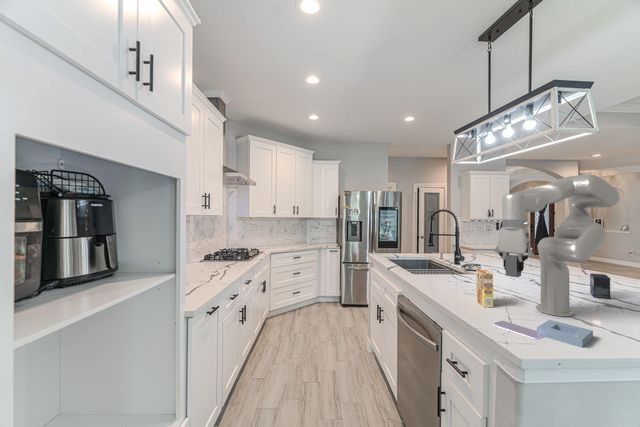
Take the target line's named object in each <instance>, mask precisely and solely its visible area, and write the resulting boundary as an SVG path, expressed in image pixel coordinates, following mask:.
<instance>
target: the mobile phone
mask: <svg viewBox="0 0 640 427" xmlns="http://www.w3.org/2000/svg"><path fill="white" fill-rule="evenodd" d="M492 326H493V327H495V328H499V329H502V330H504V331H508V332H511V333H514V334H517V335H519V336H523V337H526V338H529V339H532V340H535V341H536V340H540V339H543V338H544V337H545V336H544V335H542V334H538V333H537V330H536V329H532V328H528V327H525V326H521V325H519V324H516V323H512V322H509V321H505V320H499V321H497V322H493V323H492ZM545 338H546V337H545Z"/></svg>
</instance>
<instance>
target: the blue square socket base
mask: <svg viewBox="0 0 640 427" xmlns="http://www.w3.org/2000/svg"><path fill="white" fill-rule="evenodd" d="M536 331H537V333H538V334H542V335H544V336H545V338H548V339H552V340H555V341H558V342H562V343H566V344H569V345H573V346H576V347H579V348H584V347H585V346H586V345H587V344H588V343H589V342H590V341H591V340H593V338H594V330H592V329H589V328H584V327H580V326H577V325H572V324H568V323H565V322H560V321H556V320H552V319H548V320H547V321H545V322H543V323H541V324H540V325H538V326H536Z"/></svg>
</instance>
